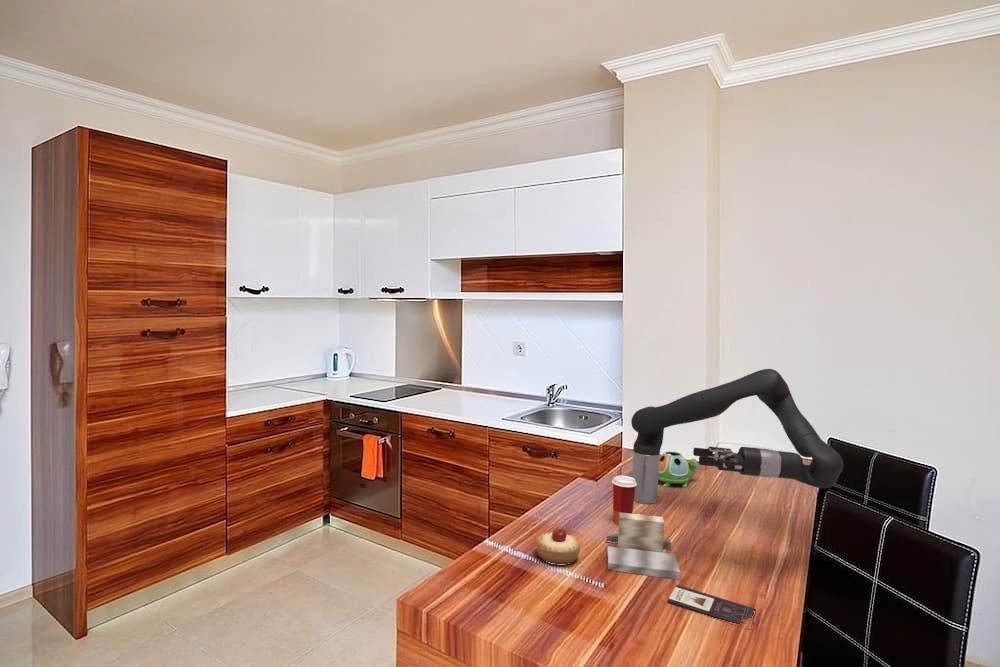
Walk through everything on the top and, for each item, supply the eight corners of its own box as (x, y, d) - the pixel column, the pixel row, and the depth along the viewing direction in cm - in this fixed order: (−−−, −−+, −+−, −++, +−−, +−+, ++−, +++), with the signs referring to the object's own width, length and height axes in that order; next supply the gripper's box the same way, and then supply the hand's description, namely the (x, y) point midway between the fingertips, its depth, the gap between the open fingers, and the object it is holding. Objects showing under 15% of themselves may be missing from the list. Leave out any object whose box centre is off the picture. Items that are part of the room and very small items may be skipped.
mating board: (608, 570, 143) (608, 563, 143) (606, 539, 162) (607, 532, 162) (679, 579, 140) (680, 571, 140) (669, 546, 159) (670, 540, 159)
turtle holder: (705, 487, 212) (707, 457, 211) (663, 489, 208) (665, 458, 207) (688, 477, 224) (690, 448, 223) (647, 478, 220) (649, 449, 219)
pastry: (587, 560, 149) (590, 529, 149) (559, 573, 141) (563, 540, 140) (553, 543, 158) (556, 513, 157) (526, 555, 150) (528, 523, 149)
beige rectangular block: (618, 552, 154) (620, 517, 153) (617, 546, 158) (619, 512, 157) (662, 557, 152) (664, 522, 151) (660, 551, 156) (662, 517, 155)
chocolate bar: (750, 627, 119) (667, 600, 129) (750, 632, 120) (667, 604, 129) (755, 608, 127) (677, 584, 137) (755, 612, 127) (676, 588, 137)
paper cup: (636, 520, 177) (639, 477, 176) (631, 528, 170) (634, 484, 169) (612, 515, 181) (615, 473, 180) (606, 523, 174) (609, 480, 173)
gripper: (752, 441, 155) (692, 436, 157) (768, 456, 141) (702, 449, 143) (750, 467, 155) (690, 461, 158) (765, 484, 141) (699, 477, 144)
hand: (696, 455), depth 151 cm, fingers open, 8 cm apart
